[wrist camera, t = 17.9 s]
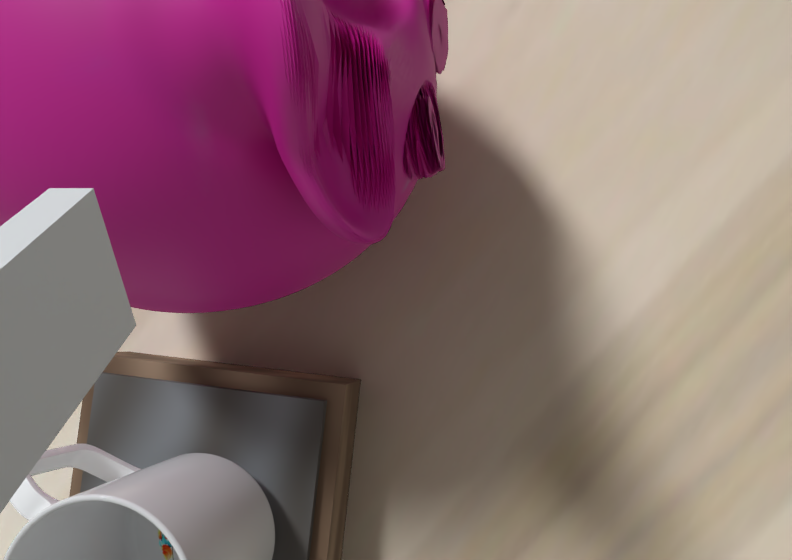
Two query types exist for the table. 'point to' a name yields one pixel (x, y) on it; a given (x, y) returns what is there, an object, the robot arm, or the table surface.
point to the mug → (145, 511)
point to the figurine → (223, 133)
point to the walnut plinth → (235, 435)
